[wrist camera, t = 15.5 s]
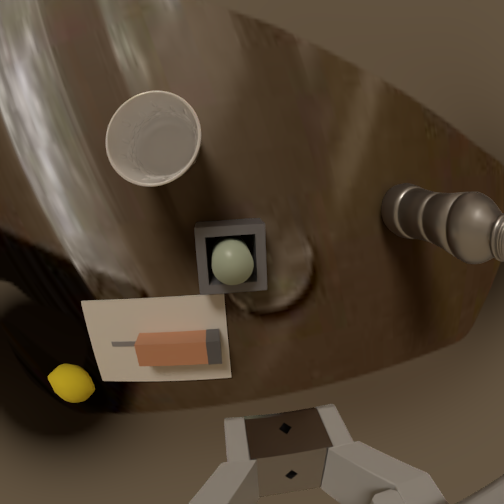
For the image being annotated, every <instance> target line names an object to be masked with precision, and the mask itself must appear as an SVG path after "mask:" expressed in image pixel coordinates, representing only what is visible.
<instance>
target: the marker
mask: <svg viewBox="0 0 504 504" xmlns="http://www.w3.org/2000/svg"><path fill="white" fill-rule="evenodd" d="M134 346H135V351H136V355H137V359H138V363H139V366H175V365H197V364H209V365H210V364H222V352H221V341H220V331H219V329H206V330H196V331H179V332H157V333H139V335H138V337H137V340H136V342H135V344H134Z"/></svg>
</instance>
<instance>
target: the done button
mask: <svg viewBox="0 0 504 504" xmlns="http://www.w3.org/2000/svg"><path fill="white" fill-rule="evenodd" d="M253 267H254V262H253V258H252V256H251V253H250V251H249V249H248V247H247V244H246V243H245V241H244V240H243V239H242V238H240V237H238V236H236V235H233V236H223V237H221V238H219V239H218V240H217V241H216V242H215V244H214V246H213V249H212V271H213V273H214V275H215V277H216V278H217V279H218V280H219V281H220V282H222V283H224V284H227V285H238V284H241V283H243V282H245V281H246V280H247V279H248V278H249V277H250V275H251V274H252V272H253Z"/></svg>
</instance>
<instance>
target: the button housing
mask: <svg viewBox="0 0 504 504" xmlns="http://www.w3.org/2000/svg"><path fill="white" fill-rule="evenodd" d="M194 233H195V245H196V257H197V267H198V278H199V288H200V295H209V294H222V293H235V292H248V291H260V290H267V266H266V238H265V223H264V222H263V221H262V220H261V219H260V218H250V219H234V220H220V221H205V222H196V224H195V227H194ZM248 234H251V239H252V258H253V262H254V267H253V272H252V274H251V275H250V277H249V278H248V279H247V280H246V281H245V282H243V283H241V284H238V285H227V284H224V283H222V282H220V281H219V280H218V279H217V278H216V277H215V275H214V273H211V274H209V262H208V250H207V237H219V236H233V235H248Z"/></svg>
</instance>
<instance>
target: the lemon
mask: <svg viewBox="0 0 504 504" xmlns="http://www.w3.org/2000/svg"><path fill="white" fill-rule="evenodd" d="M48 380H49V382H50V384H51V386H52V388H53V389H54V391H55V393H56V394H58V395H59V396H60V397H61V398H62V399H64V400H65V401H68V402H72V403H76V402H82V401H85V400H86V399H88V398H89V397H90V396H91V395H92V393H93V392H94V391H95V387H94V384H93V381H92V379H91V377H90V375H89V374H88V373H87V372H86V371H85V370H84V369H83V368H81V367H79V366H77V365H71V364H62V365H60V366H58V367H57V368H56V369H55V370H54V371H53V372H52V373H51V374H50V375H49V376H48Z"/></svg>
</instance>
